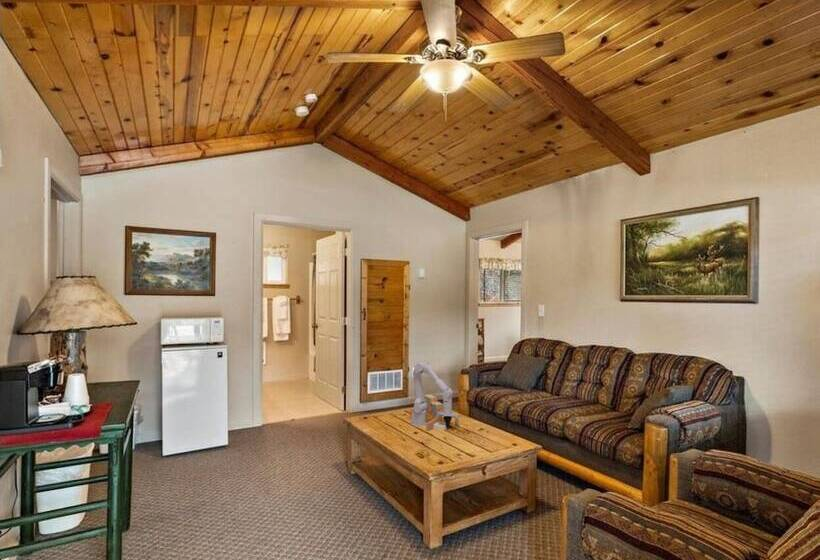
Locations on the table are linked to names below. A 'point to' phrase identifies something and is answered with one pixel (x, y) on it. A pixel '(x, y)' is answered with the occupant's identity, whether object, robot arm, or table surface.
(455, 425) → the birch dowel
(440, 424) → the beige square frame
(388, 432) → the table surface
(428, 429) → the wall
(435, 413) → the stack of blocks
